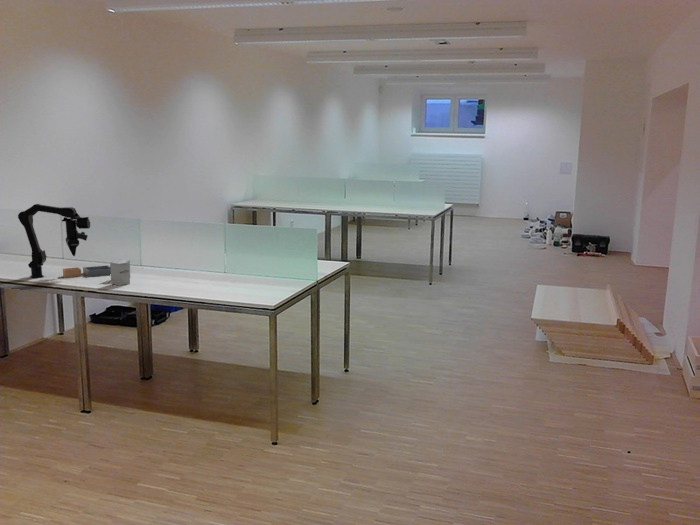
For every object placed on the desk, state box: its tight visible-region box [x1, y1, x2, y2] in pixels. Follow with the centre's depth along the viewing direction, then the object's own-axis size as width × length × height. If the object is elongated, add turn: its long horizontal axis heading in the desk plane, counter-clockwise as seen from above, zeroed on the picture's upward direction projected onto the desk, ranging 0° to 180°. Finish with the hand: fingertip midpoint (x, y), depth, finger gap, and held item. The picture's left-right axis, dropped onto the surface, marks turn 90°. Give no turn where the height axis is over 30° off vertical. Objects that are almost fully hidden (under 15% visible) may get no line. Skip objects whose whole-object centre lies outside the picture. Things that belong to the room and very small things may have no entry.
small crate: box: [62, 266, 82, 279], centre depth 375 cm, size 6×9×4 cm, turn 125°
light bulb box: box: [109, 259, 131, 271], centre depth 368 cm, size 11×7×11 cm, turn 168°
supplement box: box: [109, 261, 131, 286], centre depth 353 cm, size 7×7×13 cm
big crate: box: [82, 265, 111, 278], centre depth 384 cm, size 15×15×4 cm
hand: (73, 254), depth 372 cm, fingers open, 9 cm apart
